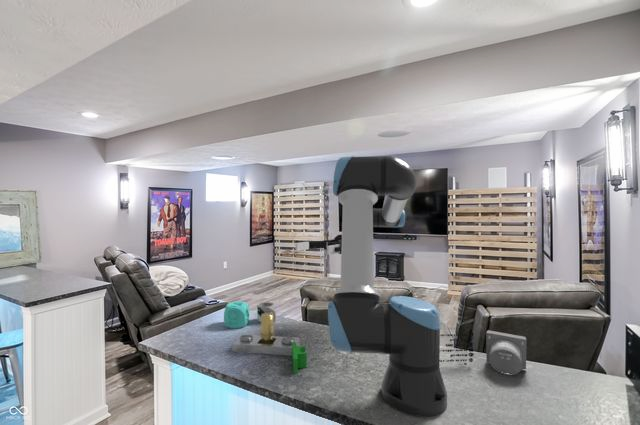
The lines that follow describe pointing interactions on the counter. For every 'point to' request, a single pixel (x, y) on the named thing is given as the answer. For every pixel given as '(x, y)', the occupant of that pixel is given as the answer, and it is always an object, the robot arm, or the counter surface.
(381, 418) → the counter surface
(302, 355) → the pipe clamp
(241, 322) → the decorative dice
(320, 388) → the counter surface
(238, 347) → the plate with dome knobs
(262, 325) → the link pin
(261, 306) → the mug
